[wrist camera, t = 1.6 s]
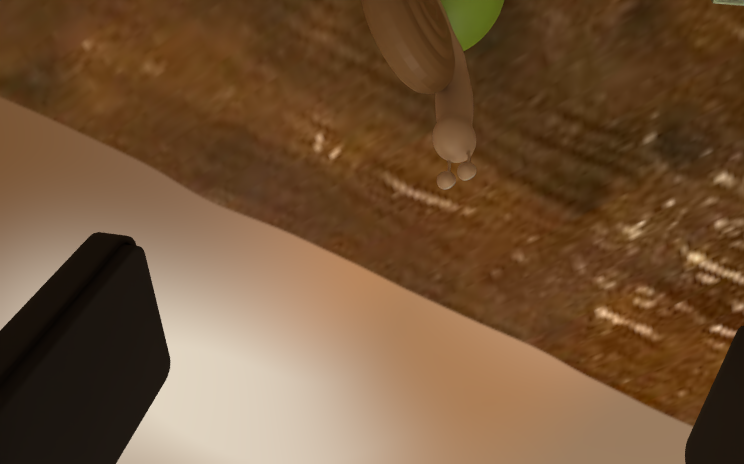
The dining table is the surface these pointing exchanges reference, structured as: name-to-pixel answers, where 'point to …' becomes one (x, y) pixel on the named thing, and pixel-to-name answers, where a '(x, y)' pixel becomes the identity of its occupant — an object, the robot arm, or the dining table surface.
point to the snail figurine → (436, 63)
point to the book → (729, 2)
